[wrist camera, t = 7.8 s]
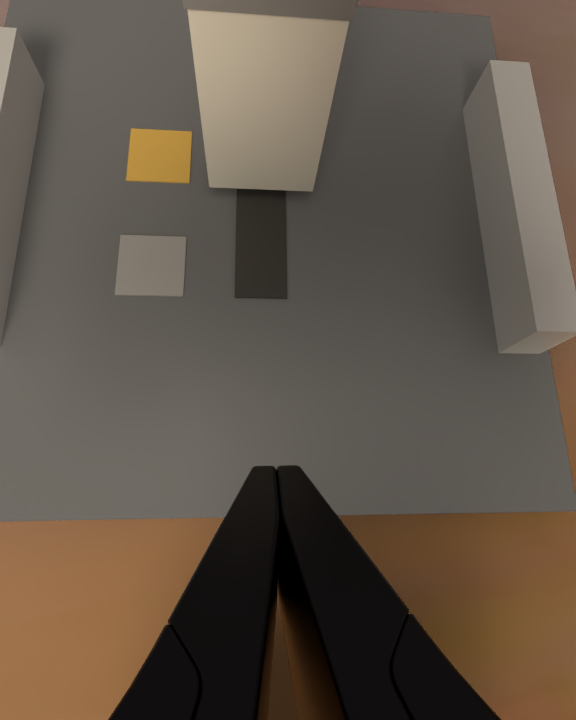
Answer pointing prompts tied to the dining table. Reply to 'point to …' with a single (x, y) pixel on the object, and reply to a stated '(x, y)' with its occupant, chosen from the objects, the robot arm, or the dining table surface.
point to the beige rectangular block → (266, 86)
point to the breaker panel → (275, 279)
